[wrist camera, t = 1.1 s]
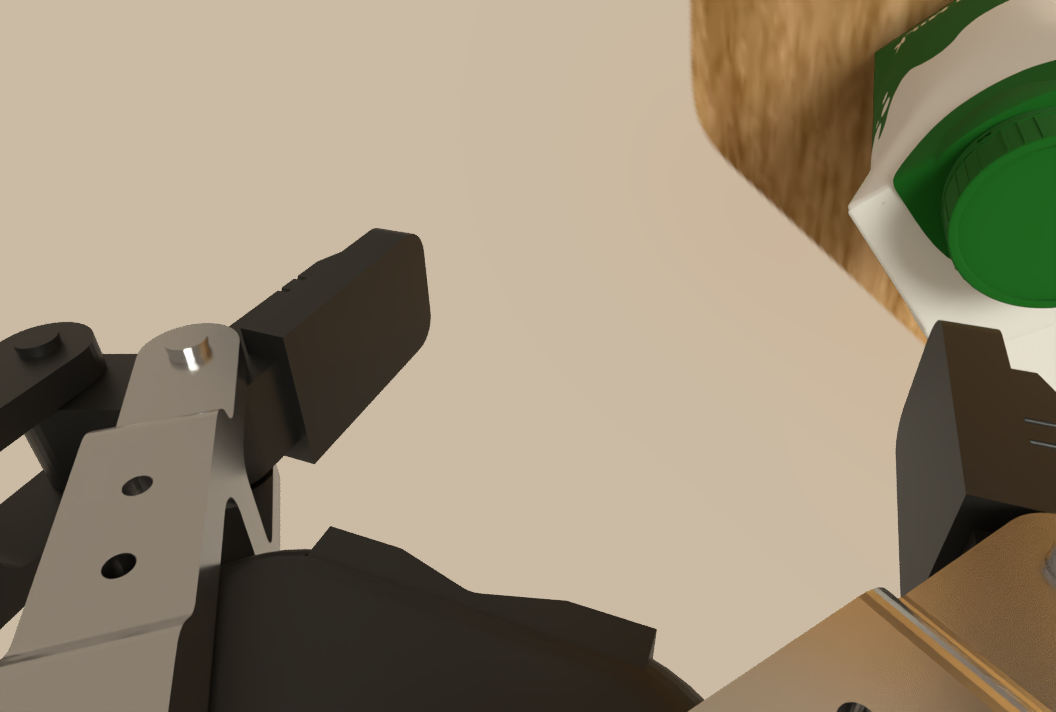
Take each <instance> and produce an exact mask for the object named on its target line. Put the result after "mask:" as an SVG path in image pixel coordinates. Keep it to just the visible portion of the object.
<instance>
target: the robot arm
mask: <svg viewBox="0 0 1056 712" xmlns="http://www.w3.org/2000/svg"><path fill="white" fill-rule="evenodd" d="M430 317H431V314H430V304H429V295H428V286H427V276H426V267H425V258H424V250H423V245H422V242H421V240H420V238H419V237H418V236H417V235H415V234H410V233H404V232H398V231H392V230H386V229H379V228H374V229H372V230H370V231H369V232H368V233H366V234H365V235H364V236H362V237H361V238H359V239H358V240H357V241H355V242H354V243H353V244H351V245H350V246H349V247H348V248H346V249H345V250H344V251H342V252H340V253H337V254H335V255H333V256H330V257H328V258H325V259H323V260H320V261H318V262H316V263H315V264H313V265H312V266H311V267H309V268H308V269H307V270H305V271H304V272H303V273H301V274H300V275H298V279H293V280H292V281H290V282H289V283H288V284H286V285H285V286H284V287H282V291H277V292H275V293H274V294H273V295H271V296H270V297H269V298H267V299H266V300H265V301H263V302H262V303H260V304H259V305H258V306H257V307H255V308H254V309H252V310H251V311H250V312H248V313H247V314H245V315H244V316H243V317H242V318H240V319H239V320H237V321H236V322H235V323H233V324H232V325H231V326H229V327H228V326H225V325H221V324H213V323H202V324H193V325H187V326H183V327H180V328H176V329H173V330H170V331H167V332H165V333H163V334H161V335H159V336H157V337H155V338H154V339H152V340H151V341H149V342H148V343H147V344H146V345H145V346H143V347H142V349H141V350H140V351H139V353H138V354H102V352H101V350H100V348H99V345H98V343H97V341H96V338H95V336H94V334H93V331H92V330H91V329H90V328H89V327H88V326H86V325H84V324H80V323H74V322H61V323H60V322H59V323H51V324H46V325H41V326H36V327H33V328H30V329H27V330H24V331H21V332H19V333H17V334H14V335H12V336H10V337H8V338H6V339H5V340H3V341H1V342H0V451H2V450H3V449H4V448H6V447H7V446H9V445H10V444H11V443H13V442H14V441H15V440H17V439H18V438H19V437H21V436H22V435H25V437H26V438H27V440H28V442H29V444H30V446H31V448H32V449H33V451H34V453H35V455H36V457H37V458H38V461H39V463H40V464H41V466H42V468H43V471H41V472H40V473H39V474H38V475H36V476H35V477H34V478H33V479H31V480H30V481H29V482H28V483H26V484H25V485H24V486H23V487H21V488H20V489H19V490H18V491H16V492H15V493H14V494H13V495H12V496H10V497H9V498H8V499H6V500H5V501H4V502H3V503H2V504H0V629H1V628H2V627H3V626H4V625H5V624H6V623H7V622H8V621H10V620H11V619H12V618H13V617H14V616H15V615H16V614H17V613H18V612H19V611H20V610H21V609H22V608H23V607H24V606H25V607H24V610H23V612H22V616H21V618H20V621H19V624H18V627H17V630H16V633H15V636H14V638H13V641H12V644H11V646H10V648H9V650H8V652H7V653H6V655H5V656H4V657H3V658H2V659H1V660H0V712H1056V391H1055V390H1054V389H1053V388H1052V387H1051V386H1050V385H1049V384H1048V383H1047V382H1046V381H1045V380H1044V379H1043V378H1042V377H1041V376H1040V375H1039V374H1038V373H1034V372H1028V371H1023V370H1017V369H1011V366H1010V362H1009V358H1008V355H1007V351H1006V347H1005V343H1004V339H1003V336H1002V333H1001V331H1000V330H999V329H993V328H987V327H981V326H975V325H969V324H962V323H956V322H950V321H944V320H938V321H937V322H936V323H935V324H934V326H933V328H932V330H931V332H930V335H929V337H928V340H927V343H926V346H925V349H924V352H923V354H922V358H921V360H920V363H919V366H918V369H917V371H916V374H915V377H914V380H913V383H912V386H911V388H910V391H909V394H908V397H907V400H906V403H905V405H904V408H903V412H902V415H901V419H900V423H899V428H898V433H897V440H896V474H897V504H898V533H899V561H900V590H901V598H899V599H898V598H896V597H895V596H894V595H893V594H891V593H890V592H889V591H888V590H886V589H885V588H875V589H872V590H870V591H867V592H866V593H864V594H862V595H861V596H859V597H857V598H856V599H854V600H853V601H851V602H850V603H848V604H847V605H846V606H844V607H843V608H841V609H839V610H838V611H836V612H835V613H833V614H832V615H831V616H829V617H828V618H826V619H825V620H823V621H822V622H820V623H819V624H817V625H816V626H814V627H813V628H811V629H810V630H808V631H807V632H805V633H804V634H802V635H801V636H799V637H798V638H796V639H795V640H793V641H792V642H790V643H789V644H787V645H786V646H784V647H783V648H781V649H780V650H778V651H777V652H776V653H774V654H773V655H771V656H770V657H768V658H767V659H765V660H764V661H762V662H761V663H759V664H758V665H756V666H755V667H753V668H752V669H750V670H749V671H748V672H746V673H745V674H743V675H742V676H740V677H738V678H737V679H735V680H734V681H732V682H731V683H729V684H728V685H727V686H725V687H723V688H722V689H720V690H719V691H718V692H716V693H715V694H713V695H712V696H710V697H709V698H707V699H706V700H704V699H703V698H702V697H701V696H700V695H699V694H698V693H697V692H695V690H693V688H692V687H691V686H689V685H688V684H687V683H686V682H684V681H683V680H682V679H680V678H679V677H678V676H677V675H675V674H674V673H673V672H671V671H670V670H669V669H667V668H666V667H664V666H663V665H661V664H660V663H658V662H656V661H655V660H653V652H654V645H655V638H656V631H657V630H656V629H654V628H651V627H648V626H645V625H641V624H638V623H635V622H632V621H629V620H626V619H623V618H619V617H616V616H613V615H610V614H606V613H604V612H600V611H597V610H594V609H591V608H588V607H585V606H581V605H578V604H575V603H571V602H569V601H562V600H550V599H538V598H527V597H514V596H502V595H490V594H480V593H474V592H471V591H468V590H466V589H464V588H462V587H461V586H459V585H458V584H456V583H455V582H453V581H451V580H450V579H448V578H447V577H445V576H444V575H442V574H440V573H439V572H437V571H436V570H434V569H433V568H431V567H429V566H428V565H426V564H425V563H423V562H422V561H420V560H419V559H417V558H415V557H414V556H412V555H411V554H409V553H408V552H406V551H404V550H403V549H401V548H398V547H395V546H391V545H388V544H385V543H382V542H379V541H376V540H372V539H369V538H366V537H363V536H359V535H356V534H354V533H350V532H347V531H344V530H341V529H337V528H335V527H331V526H330V527H329V529H328V530H327V531H326V532H325V534H324V535H323V536H322V537H321V539H320V540H319V541H318V542H317V543H316V545H315V546H314V547H313V548H312V550H310V549H301V550H299V549H298V550H282V551H280V476H279V472H278V469H277V466H276V463H277V462H278V461H279V460H280V459H281V458H282V457H283V456H288V457H292V458H295V459H298V460H302V461H305V462H309V463H312V464H315V463H316V462H317V461H318V460H319V459H320V458H321V456H322V455H323V454H324V453H325V452H326V451H327V450H328V449H329V448H330V446H331V445H332V444H333V443H334V442H335V441H336V440H337V439H338V438H339V437H340V436H341V434H342V433H343V432H344V431H345V430H346V429H347V428H348V427H349V426H350V425H351V424H352V423H353V421H354V420H355V419H356V418H357V417H358V416H359V415H360V414H361V413H362V412H363V411H364V409H365V408H366V407H367V406H368V405H369V404H370V403H371V402H372V401H373V400H374V399H375V397H376V396H377V395H378V394H379V393H380V392H381V391H382V390H383V389H384V387H386V385H387V384H388V383H389V382H390V381H391V380H392V379H393V378H394V377H395V376H396V374H397V373H398V372H399V371H400V370H401V369H402V368H403V367H404V366H405V365H406V363H407V362H408V361H409V360H410V359H411V358H412V357H413V356H414V355H415V354H416V353H417V352H418V350H419V349H420V348H421V347H422V345H423V344H424V342H425V340H426V337H427V335H428V331H429V327H430V319H431V318H430Z"/></svg>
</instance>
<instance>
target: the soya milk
mask: <svg viewBox="0 0 1056 712" xmlns="http://www.w3.org/2000/svg"><path fill="white" fill-rule="evenodd" d="M848 209H849V212H848V214H849V216H850V217H851V219H852V220H853V222H854V223H855V225H856V226H857V228H858V230H859V231H860V233H861V234H862V236H863V237H864V239H865V240H866V242H867V244H868V245H869V247H870V248H871V250H872V251H873V253H874V255H875V256H876V258H877V259H878V261H879V262H880V264H881V265H882V267H883V268H884V270H885V272H886V273H887V275H888V276H889V278H890V279H891V281H892V282H893V284H894V286H895V287H896V289H897V290H898V292H899V293H900V295H901V296H902V298H903V300H904V301H905V303H906V304H907V306H908V307H909V309H910V311H911V313H912V315H913V317H914V319H915V321H916V322H917V324H918V325H919V327H920V328H921V330H922V331H923V333H924V334H925V336H926V337H927V339H928V337H929V335H930V332H931V330H932V328H933V326H934V324H935V323H936V322H937V321H938V320H944V321H950V322H956V323H962V324H969V325H975V326H981V327H987V328H993V329H999V330H1000V331H1001V333H1002V336H1003V339H1004V343H1005V347H1006V351H1007V355H1008V358H1009V362H1010V366H1011V369H1017V370H1023V371H1028V372H1034V373H1038V374H1039V375H1040V376H1041V377H1042V378H1043V379H1044V380H1045V381H1046V382H1047V383H1048V384H1049V385H1050V386H1051V387H1052V388H1053V389H1054V390H1055V391H1056V0H954V1H953V2H951V3H950V4H948V5H947V6H945V7H944V8H942V9H941V10H939V11H938V12H936V13H935V14H933V15H932V16H930V17H928V18H927V19H925V20H924V21H922V22H921V23H919V24H918V25H916V26H915V27H913V28H912V29H910V30H909V31H907V32H906V33H904V34H903V35H901V36H900V37H898V38H896V39H895V40H893V41H892V42H890V43H889V44H887V45H886V46H884V47H883V48H881V49H880V50H878V51H877V52H875V67H874V118H873V137H872V156H871V171H870V172H869V174H868V175H867V177H866V178H865V180H864V182H863V183H862V185H861V186H860V188H859V189H858V191H857V193H856V194H855V196H854V197H853V199H852V200H851V202H850V204H849V205H848Z"/></svg>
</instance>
